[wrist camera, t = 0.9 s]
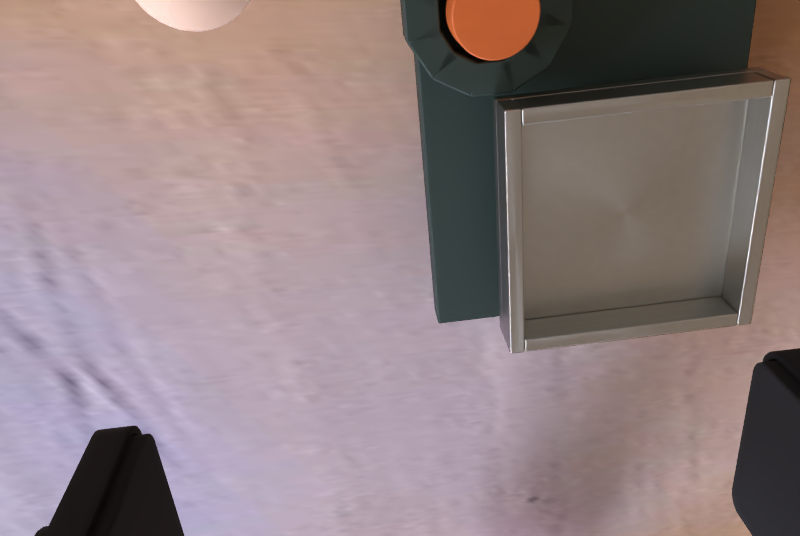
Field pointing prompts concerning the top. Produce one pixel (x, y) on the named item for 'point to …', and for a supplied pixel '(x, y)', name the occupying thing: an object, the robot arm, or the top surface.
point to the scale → (533, 72)
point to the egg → (194, 12)
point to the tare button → (493, 25)
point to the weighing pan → (634, 205)
